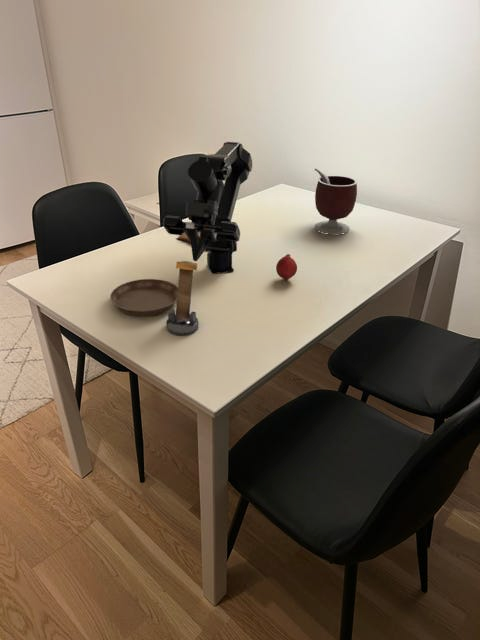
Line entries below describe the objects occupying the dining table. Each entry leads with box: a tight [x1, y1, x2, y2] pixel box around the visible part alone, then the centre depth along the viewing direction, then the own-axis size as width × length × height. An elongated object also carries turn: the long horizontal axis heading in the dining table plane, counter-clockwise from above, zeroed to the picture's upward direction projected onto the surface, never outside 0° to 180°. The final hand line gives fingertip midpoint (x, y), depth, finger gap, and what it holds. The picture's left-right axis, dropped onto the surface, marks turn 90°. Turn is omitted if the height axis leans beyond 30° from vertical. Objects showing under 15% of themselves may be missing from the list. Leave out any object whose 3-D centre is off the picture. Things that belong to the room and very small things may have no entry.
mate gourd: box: [314, 167, 358, 234], centre depth 171 cm, size 16×14×20 cm
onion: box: [275, 253, 298, 281], centre depth 138 cm, size 6×6×8 cm
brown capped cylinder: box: [175, 260, 198, 319], centre depth 116 cm, size 5×5×13 cm
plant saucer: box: [110, 278, 178, 317], centre depth 127 cm, size 18×18×3 cm
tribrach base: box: [165, 308, 199, 337], centre depth 117 cm, size 8×8×4 cm
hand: (194, 260), depth 121 cm, fingers closed
